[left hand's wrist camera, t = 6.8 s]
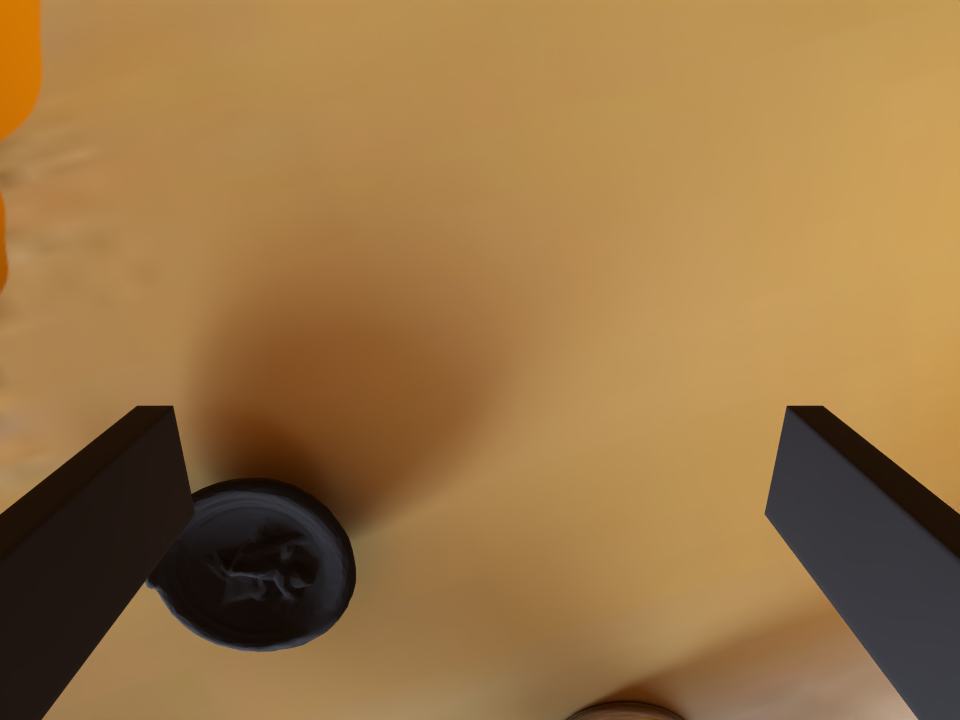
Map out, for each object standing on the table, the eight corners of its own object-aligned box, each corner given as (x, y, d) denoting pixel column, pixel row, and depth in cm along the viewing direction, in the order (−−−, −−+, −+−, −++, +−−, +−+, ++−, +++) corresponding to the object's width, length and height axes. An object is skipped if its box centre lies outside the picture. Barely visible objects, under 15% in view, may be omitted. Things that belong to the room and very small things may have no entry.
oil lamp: (143, 399, 43) (102, 431, 38) (393, 495, 46) (384, 536, 41) (100, 551, 48) (59, 596, 43) (329, 629, 51) (314, 679, 46)
